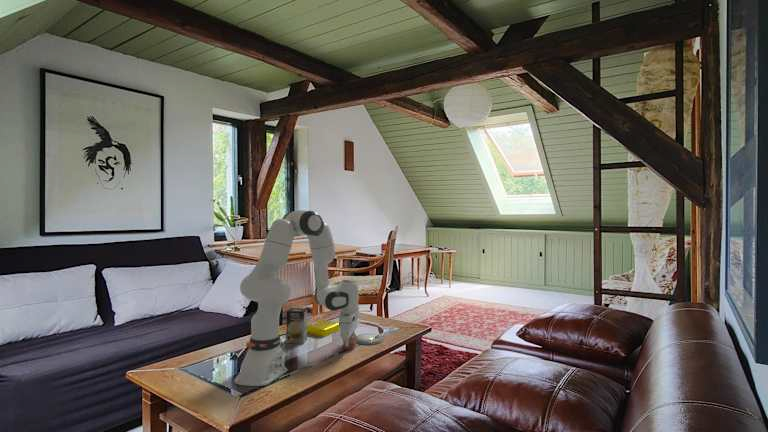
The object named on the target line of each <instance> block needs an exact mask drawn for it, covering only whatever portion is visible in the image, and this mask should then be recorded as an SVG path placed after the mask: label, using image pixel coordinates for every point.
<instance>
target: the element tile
mask: <svg viewBox="0 0 768 432" xmlns="http://www.w3.org/2000/svg"><path fill="white" fill-rule="evenodd" d="M338 331H339V332H340V322H339V321H338V322H337V321H333V320H326V319H322V318H321V319H320V318H318V319H316V320H313V321H311V322H307V335H310V336H315V337H320V338H325V337H327V336H330V335H331V334H335V333H336V332H338Z"/></svg>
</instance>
